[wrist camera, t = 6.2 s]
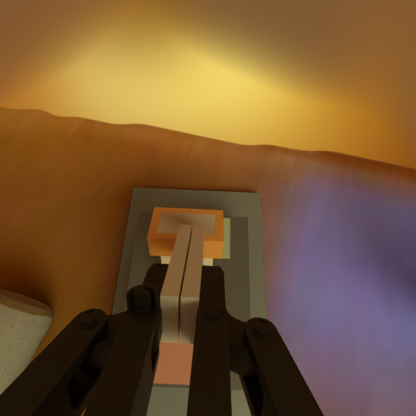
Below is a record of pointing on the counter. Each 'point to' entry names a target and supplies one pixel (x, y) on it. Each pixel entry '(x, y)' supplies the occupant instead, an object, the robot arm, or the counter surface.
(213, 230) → the breaker lever
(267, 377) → the robot arm
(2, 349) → the ceramic mug
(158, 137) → the counter surface
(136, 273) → the breaker box
